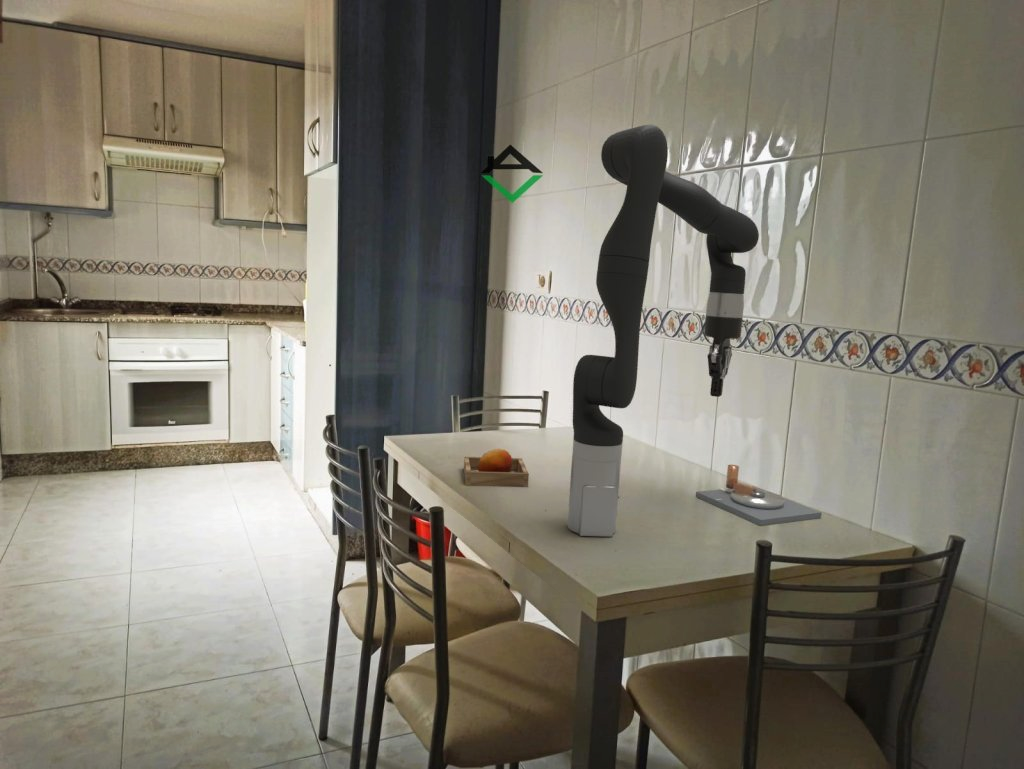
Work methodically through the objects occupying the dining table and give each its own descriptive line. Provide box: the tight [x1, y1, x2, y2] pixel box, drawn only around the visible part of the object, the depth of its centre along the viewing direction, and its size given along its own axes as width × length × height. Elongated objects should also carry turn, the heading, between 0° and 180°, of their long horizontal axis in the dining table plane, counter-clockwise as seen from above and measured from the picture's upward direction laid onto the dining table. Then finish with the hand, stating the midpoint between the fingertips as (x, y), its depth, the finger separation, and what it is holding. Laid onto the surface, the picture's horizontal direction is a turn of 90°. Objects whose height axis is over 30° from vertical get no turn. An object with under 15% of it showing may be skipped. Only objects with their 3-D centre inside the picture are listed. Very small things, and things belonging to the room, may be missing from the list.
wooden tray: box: [463, 456, 530, 488], centre depth 174 cm, size 14×14×3 cm
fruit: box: [477, 448, 513, 472], centre depth 174 cm, size 8×8×8 cm
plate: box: [695, 485, 822, 527], centre depth 163 cm, size 20×17×2 cm
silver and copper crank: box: [725, 464, 785, 509], centre depth 163 cm, size 14×11×6 cm
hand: (715, 395), depth 159 cm, fingers closed
